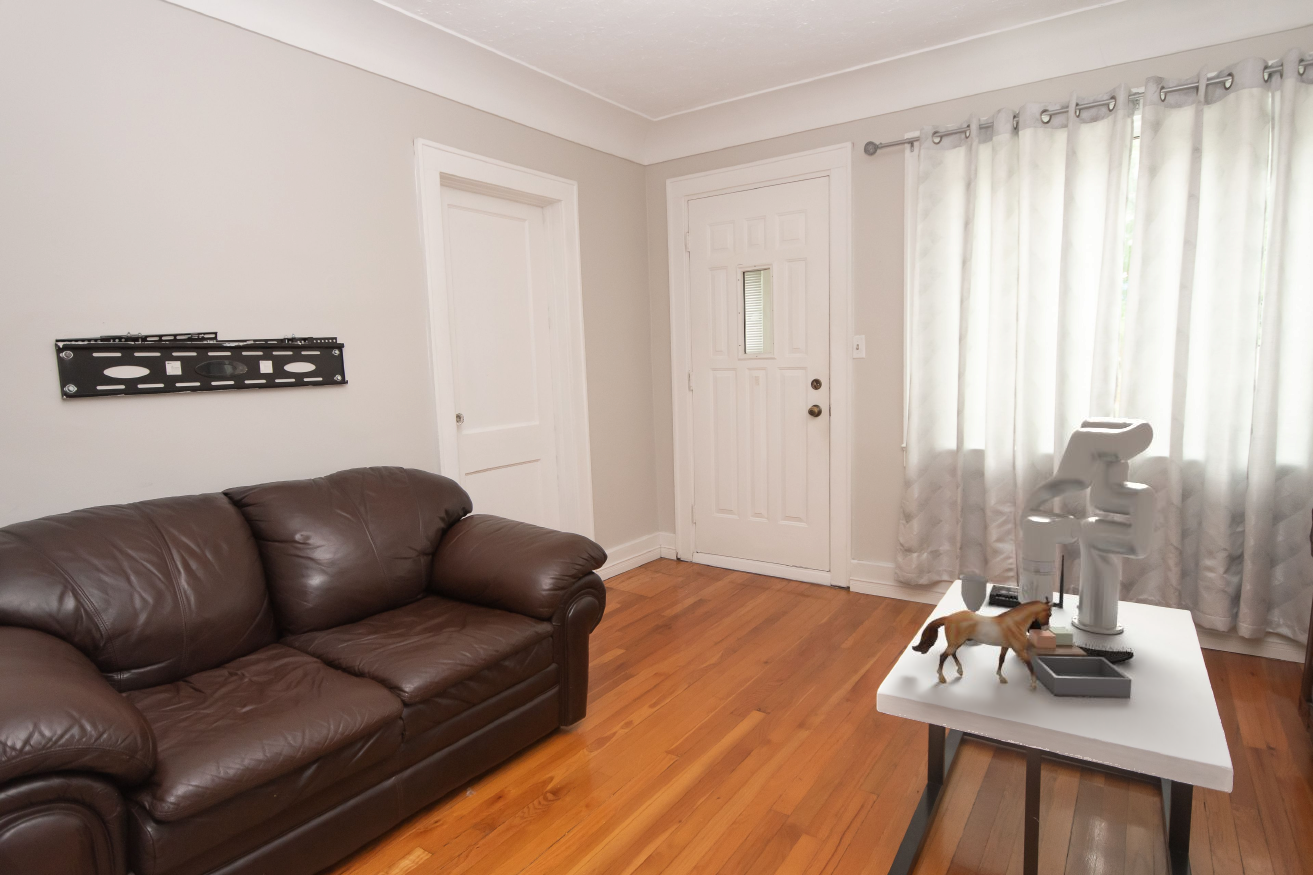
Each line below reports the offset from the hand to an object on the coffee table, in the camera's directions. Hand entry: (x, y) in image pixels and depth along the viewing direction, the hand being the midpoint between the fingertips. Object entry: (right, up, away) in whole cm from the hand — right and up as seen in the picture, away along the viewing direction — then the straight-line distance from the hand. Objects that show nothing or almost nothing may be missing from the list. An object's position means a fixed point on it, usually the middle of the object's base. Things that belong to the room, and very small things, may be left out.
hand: (1034, 633), depth 182 cm
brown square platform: (+2, -6, -4) cm, 8 cm away
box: (+2, -8, -16) cm, 18 cm away
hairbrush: (+13, -6, +3) cm, 15 cm away
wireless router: (+18, -2, +39) cm, 43 cm away
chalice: (-11, -5, +11) cm, 17 cm away
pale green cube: (+5, -1, -2) cm, 6 cm away
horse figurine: (-19, -8, -10) cm, 23 cm away
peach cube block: (0, -2, -4) cm, 4 cm away
